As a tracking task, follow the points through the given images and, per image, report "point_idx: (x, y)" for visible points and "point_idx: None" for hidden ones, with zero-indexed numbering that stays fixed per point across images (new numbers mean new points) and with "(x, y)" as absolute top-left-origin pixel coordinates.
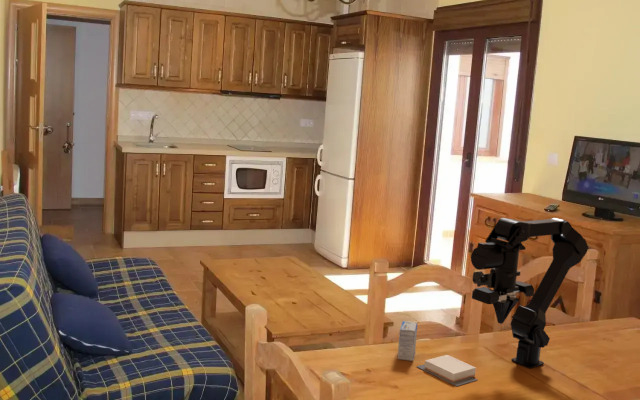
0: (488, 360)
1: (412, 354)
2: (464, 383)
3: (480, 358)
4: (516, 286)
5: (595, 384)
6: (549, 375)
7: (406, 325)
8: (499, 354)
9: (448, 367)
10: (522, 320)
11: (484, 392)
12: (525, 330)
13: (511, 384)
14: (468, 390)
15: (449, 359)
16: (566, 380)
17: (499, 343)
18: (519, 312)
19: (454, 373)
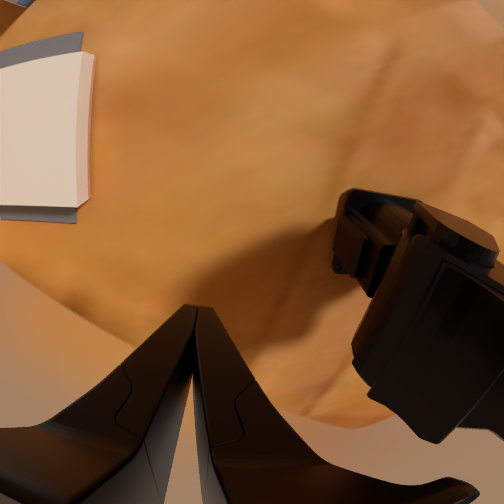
0: (277, 126)
1: (11, 2)
2: (25, 219)
3: (267, 92)
4: None
5: (354, 392)
6: (326, 324)
7: None
8: (375, 123)
9: (2, 155)
10: (404, 356)
11: (44, 283)
12: (362, 349)
13: (153, 299)
14: (16, 251)
15: (50, 96)
16: (327, 359)
17: (463, 79)
18: (476, 327)
19: None
